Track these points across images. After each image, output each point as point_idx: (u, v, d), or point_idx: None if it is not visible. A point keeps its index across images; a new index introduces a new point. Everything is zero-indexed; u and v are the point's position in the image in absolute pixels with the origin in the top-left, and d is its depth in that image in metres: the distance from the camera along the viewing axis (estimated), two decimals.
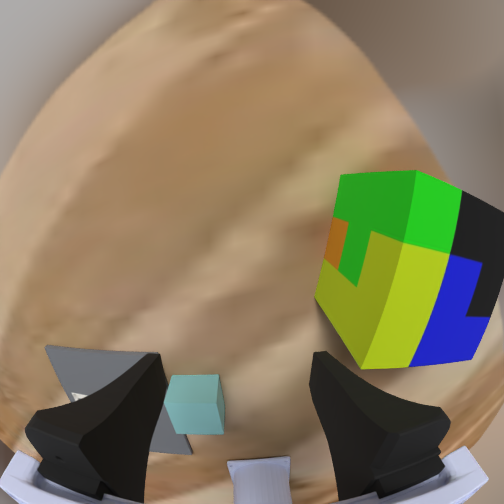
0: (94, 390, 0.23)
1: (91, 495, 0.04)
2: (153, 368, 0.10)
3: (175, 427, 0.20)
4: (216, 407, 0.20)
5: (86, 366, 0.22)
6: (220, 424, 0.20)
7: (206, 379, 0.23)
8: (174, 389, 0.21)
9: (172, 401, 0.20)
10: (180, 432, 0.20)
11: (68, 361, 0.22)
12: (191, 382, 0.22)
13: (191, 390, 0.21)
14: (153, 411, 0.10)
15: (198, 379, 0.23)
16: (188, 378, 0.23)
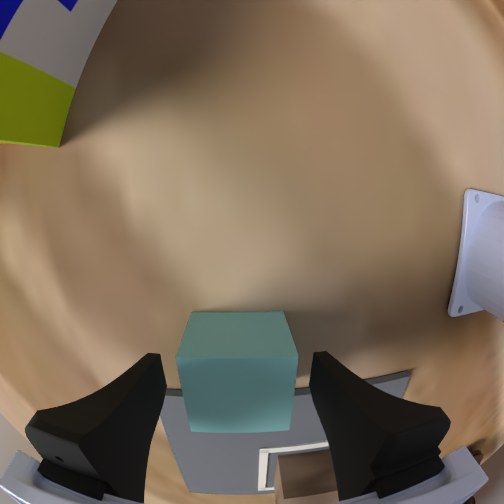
0: (245, 471, 0.16)
1: (91, 495, 0.04)
2: (153, 368, 0.10)
3: (267, 429, 0.10)
4: (191, 359, 0.09)
5: (201, 468, 0.16)
6: (256, 359, 0.09)
7: None
8: None
9: (189, 419, 0.10)
10: (286, 425, 0.10)
11: (200, 480, 0.16)
12: None
13: None
14: (153, 412, 0.10)
15: None
16: None
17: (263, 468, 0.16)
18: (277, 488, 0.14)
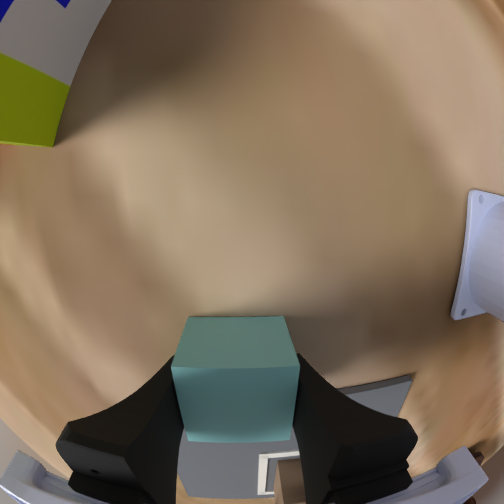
0: (245, 476, 0.15)
1: None
2: None
3: (267, 439, 0.10)
4: (187, 368, 0.09)
5: (200, 473, 0.15)
6: (255, 369, 0.09)
7: None
8: None
9: (186, 429, 0.10)
10: (287, 435, 0.10)
11: (199, 484, 0.16)
12: None
13: None
14: None
15: None
16: None
17: (263, 473, 0.15)
18: (277, 493, 0.14)
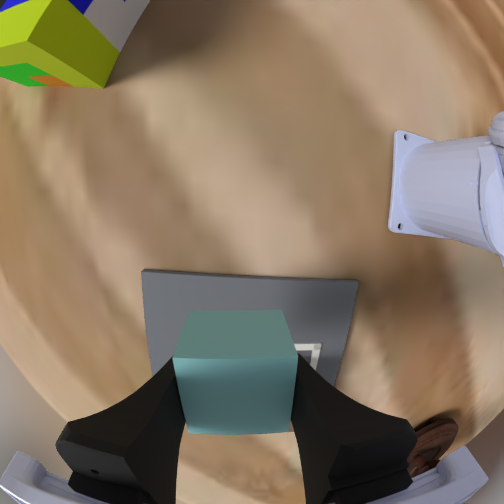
0: None
1: None
2: None
3: (266, 431, 0.10)
4: (188, 359, 0.09)
5: None
6: (255, 360, 0.09)
7: None
8: None
9: (187, 421, 0.10)
10: (286, 426, 0.10)
11: None
12: None
13: None
14: (181, 414, 0.10)
15: None
16: None
17: None
18: None
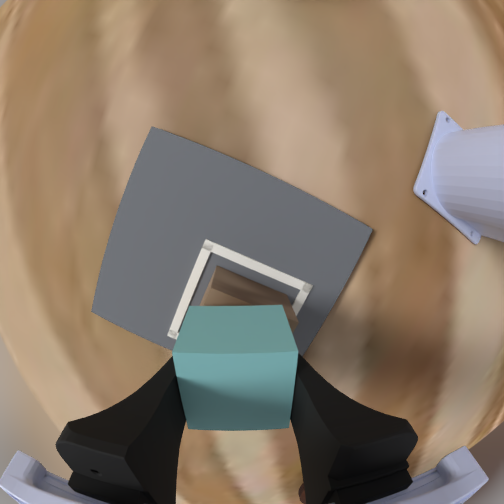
0: (171, 283, 0.18)
1: None
2: None
3: (266, 427, 0.10)
4: (188, 354, 0.09)
5: (128, 257, 0.17)
6: (255, 354, 0.09)
7: None
8: None
9: (186, 416, 0.10)
10: (286, 422, 0.10)
11: (115, 285, 0.17)
12: None
13: None
14: (181, 414, 0.10)
15: None
16: None
17: (192, 283, 0.17)
18: None
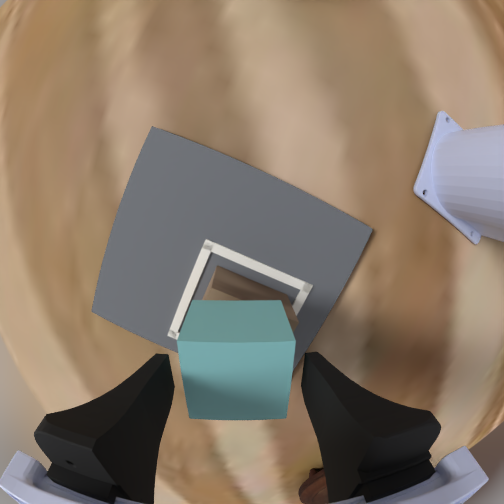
0: (171, 283, 0.18)
1: (103, 499, 0.04)
2: (162, 368, 0.10)
3: (264, 417, 0.11)
4: (192, 343, 0.10)
5: (128, 257, 0.17)
6: (255, 343, 0.10)
7: None
8: None
9: (188, 406, 0.11)
10: (283, 413, 0.11)
11: (115, 285, 0.17)
12: None
13: None
14: (162, 413, 0.10)
15: None
16: None
17: (193, 283, 0.17)
18: None
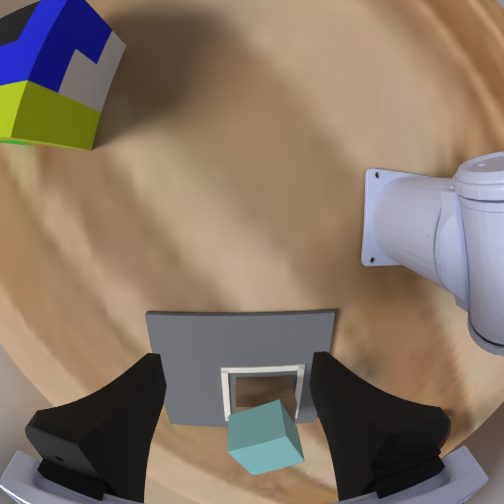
0: (212, 395, 0.24)
1: (91, 495, 0.04)
2: (153, 368, 0.10)
3: (292, 464, 0.16)
4: (235, 450, 0.16)
5: (178, 390, 0.23)
6: (265, 442, 0.16)
7: None
8: None
9: (249, 470, 0.17)
10: (301, 459, 0.16)
11: (178, 406, 0.24)
12: None
13: None
14: (153, 412, 0.10)
15: None
16: None
17: (226, 391, 0.23)
18: None
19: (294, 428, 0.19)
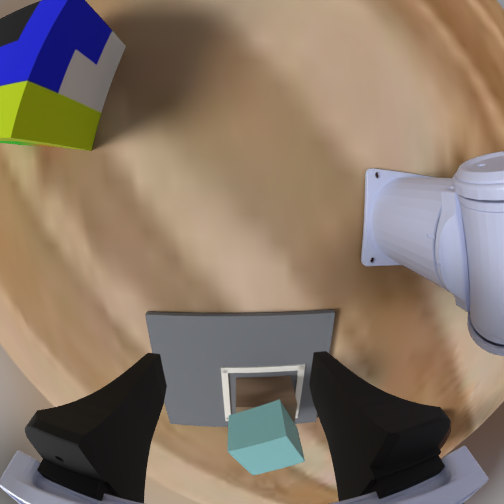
0: (213, 395, 0.24)
1: (91, 495, 0.04)
2: (153, 368, 0.10)
3: (292, 464, 0.16)
4: (235, 450, 0.16)
5: (178, 390, 0.23)
6: (266, 442, 0.16)
7: None
8: None
9: (249, 470, 0.17)
10: (301, 459, 0.16)
11: (178, 406, 0.24)
12: None
13: None
14: (153, 412, 0.10)
15: None
16: None
17: (226, 391, 0.23)
18: None
19: (294, 428, 0.19)
